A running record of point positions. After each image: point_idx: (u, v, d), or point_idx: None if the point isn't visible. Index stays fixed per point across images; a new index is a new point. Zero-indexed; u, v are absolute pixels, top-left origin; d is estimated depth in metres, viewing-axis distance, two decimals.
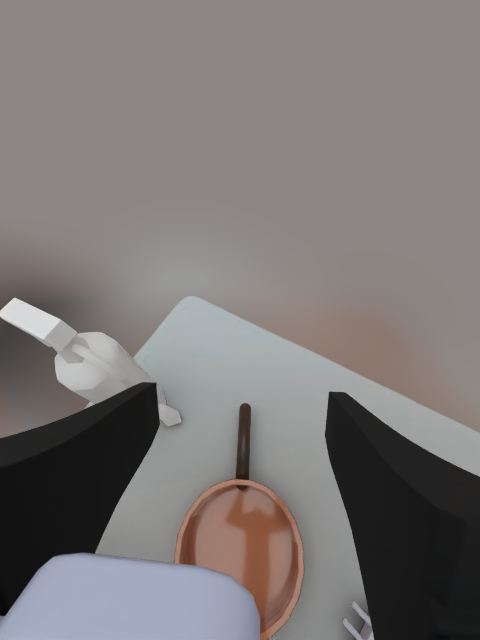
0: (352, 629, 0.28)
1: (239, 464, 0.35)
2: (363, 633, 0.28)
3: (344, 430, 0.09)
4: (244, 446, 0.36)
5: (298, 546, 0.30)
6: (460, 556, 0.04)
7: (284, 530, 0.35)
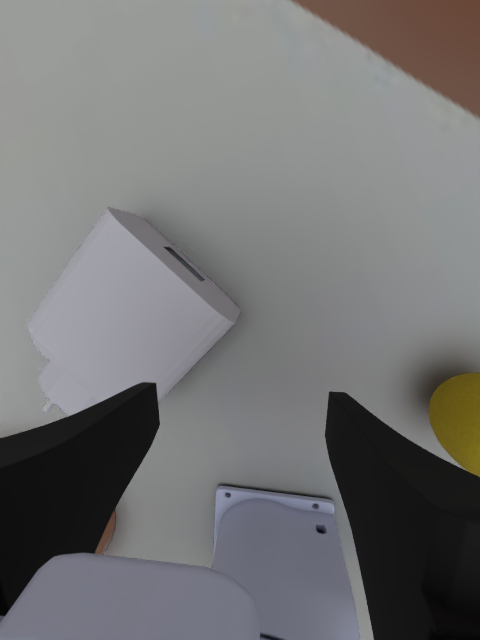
0: None
1: None
2: None
3: (344, 430, 0.09)
4: None
5: None
6: (460, 556, 0.04)
7: None
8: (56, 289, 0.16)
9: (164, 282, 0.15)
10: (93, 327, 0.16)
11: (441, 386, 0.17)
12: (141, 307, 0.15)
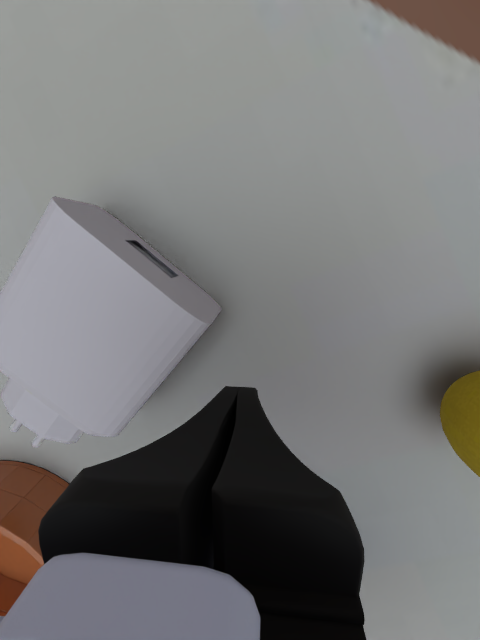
0: (38, 436, 0.18)
1: None
2: None
3: None
4: None
5: None
6: (225, 532, 0.05)
7: None
8: (4, 295, 0.14)
9: (124, 281, 0.13)
10: (49, 337, 0.14)
11: (453, 386, 0.15)
12: (100, 311, 0.13)
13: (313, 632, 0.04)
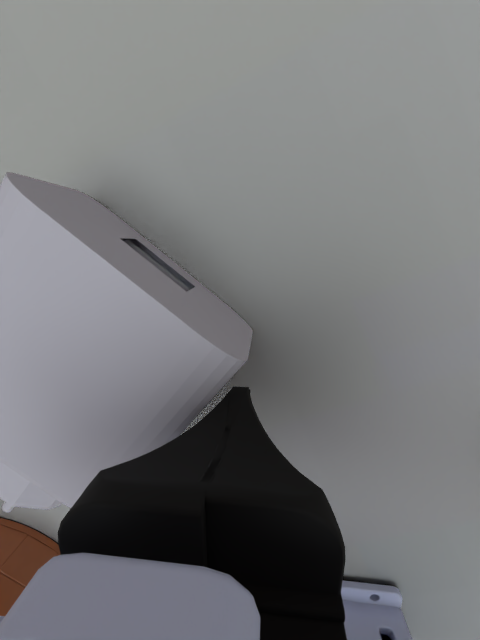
0: None
1: None
2: None
3: None
4: None
5: None
6: (207, 530, 0.05)
7: None
8: None
9: (117, 300, 0.08)
10: (10, 382, 0.10)
11: None
12: (83, 345, 0.09)
13: (294, 630, 0.04)
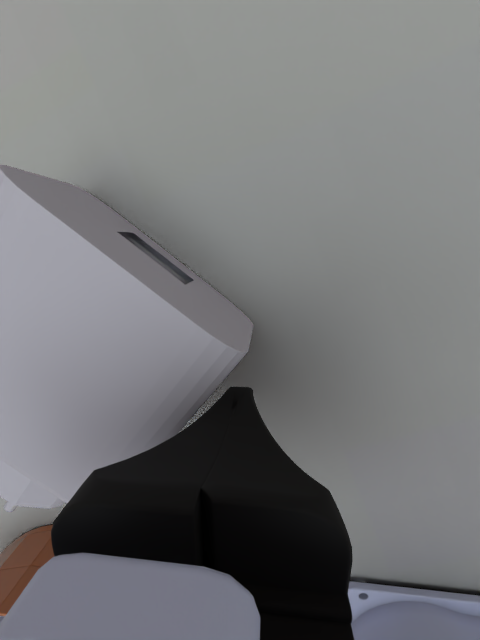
0: None
1: None
2: None
3: None
4: None
5: None
6: (214, 531, 0.05)
7: None
8: None
9: (115, 292, 0.08)
10: (8, 378, 0.09)
11: None
12: (81, 339, 0.09)
13: (301, 630, 0.04)
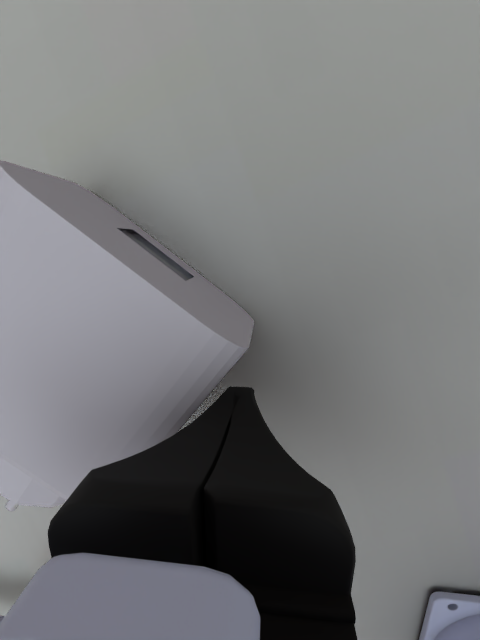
0: None
1: None
2: None
3: None
4: None
5: None
6: (217, 531, 0.05)
7: None
8: None
9: (115, 287, 0.08)
10: (8, 375, 0.09)
11: None
12: (81, 335, 0.09)
13: (304, 631, 0.04)
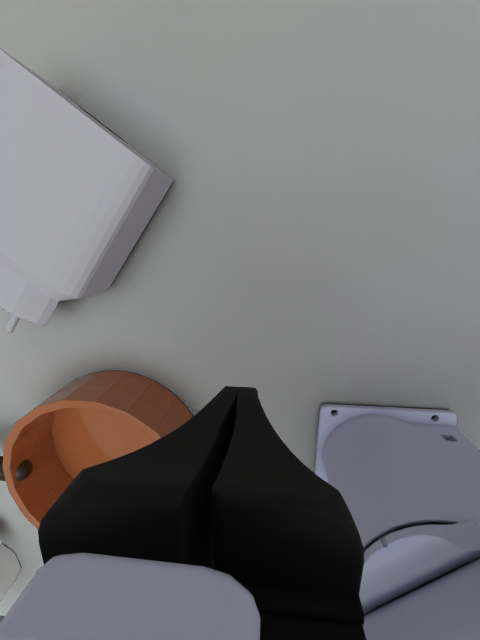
0: (10, 320, 0.19)
1: None
2: None
3: None
4: None
5: (66, 406, 0.18)
6: (225, 532, 0.05)
7: None
8: None
9: (67, 121, 0.14)
10: (4, 190, 0.15)
11: None
12: (48, 156, 0.14)
13: (313, 632, 0.04)
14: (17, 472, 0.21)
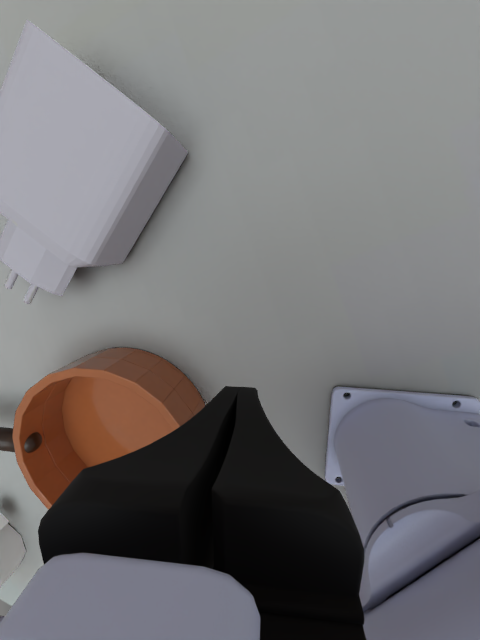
0: (28, 291, 0.20)
1: (0, 449, 0.22)
2: None
3: None
4: None
5: (76, 374, 0.19)
6: (225, 532, 0.05)
7: None
8: None
9: (87, 85, 0.14)
10: (27, 156, 0.16)
11: None
12: (69, 121, 0.15)
13: (313, 632, 0.04)
14: (26, 443, 0.21)
